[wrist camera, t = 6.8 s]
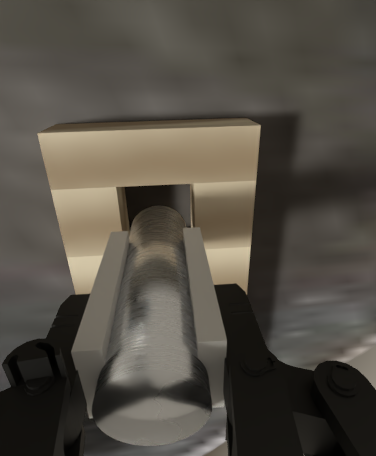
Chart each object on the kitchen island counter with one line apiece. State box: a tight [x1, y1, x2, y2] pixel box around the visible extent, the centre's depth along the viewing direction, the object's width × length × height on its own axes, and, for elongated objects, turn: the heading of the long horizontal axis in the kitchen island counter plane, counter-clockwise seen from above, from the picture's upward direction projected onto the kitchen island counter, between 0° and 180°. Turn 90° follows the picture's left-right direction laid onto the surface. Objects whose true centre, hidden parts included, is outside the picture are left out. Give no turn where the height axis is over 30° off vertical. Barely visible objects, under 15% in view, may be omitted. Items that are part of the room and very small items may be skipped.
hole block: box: [37, 118, 261, 295], centre depth 21 cm, size 20×11×3 cm, turn 1°
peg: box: [92, 205, 212, 446], centre depth 12 cm, size 3×3×10 cm
